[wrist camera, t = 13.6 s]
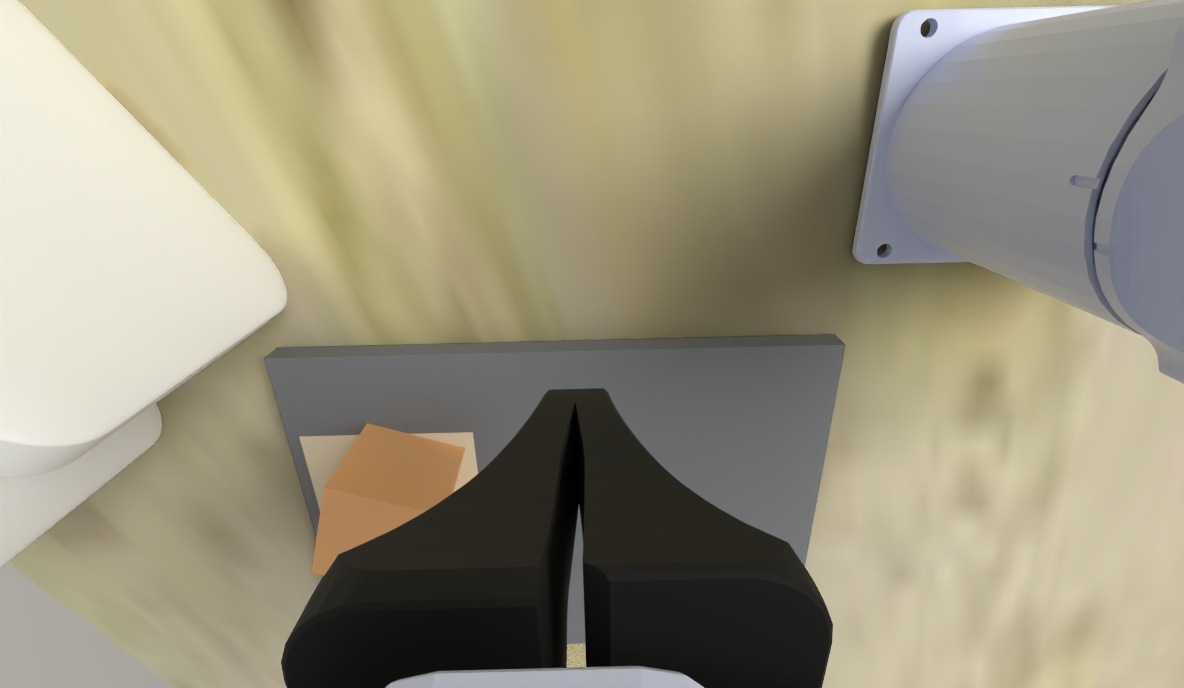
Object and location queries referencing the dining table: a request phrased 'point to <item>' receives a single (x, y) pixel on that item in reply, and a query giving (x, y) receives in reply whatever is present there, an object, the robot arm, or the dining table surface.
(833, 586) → the dining table surface
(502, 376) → the grey rectangular board
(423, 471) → the plug block
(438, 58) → the dining table surface
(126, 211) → the cable organizer
